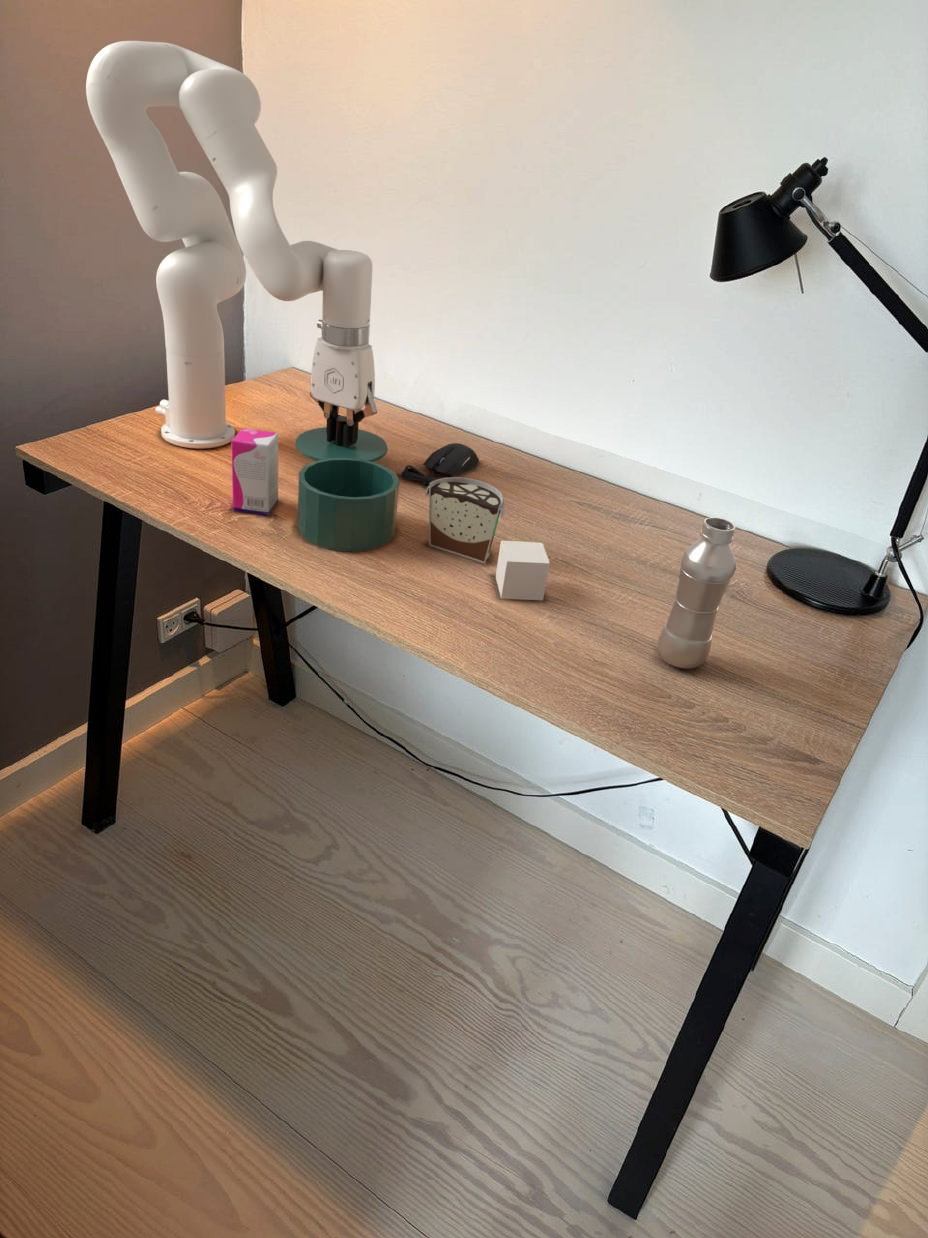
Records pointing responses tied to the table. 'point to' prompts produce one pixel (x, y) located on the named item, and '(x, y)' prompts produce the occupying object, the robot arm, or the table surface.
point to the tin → (347, 504)
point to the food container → (464, 516)
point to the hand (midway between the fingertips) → (341, 441)
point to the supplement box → (255, 471)
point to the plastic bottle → (698, 595)
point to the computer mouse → (444, 463)
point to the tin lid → (340, 444)
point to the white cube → (522, 570)
